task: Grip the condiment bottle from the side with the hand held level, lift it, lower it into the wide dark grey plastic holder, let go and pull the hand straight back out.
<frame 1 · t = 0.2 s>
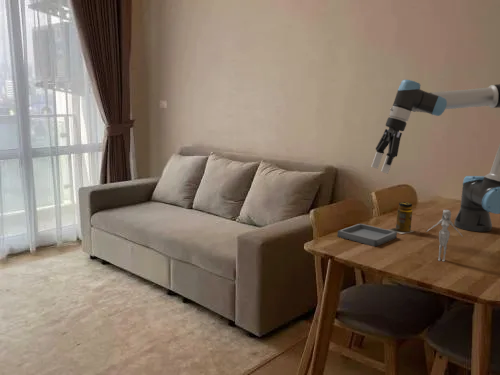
hand: (379, 170, 196), 27 cm above the table, tool tilted 15°, fingers open, 13 cm apart
human figurine: (441, 260, 172), on the table
condiment: (401, 231, 207), on the table
holder: (366, 237, 196), on the table
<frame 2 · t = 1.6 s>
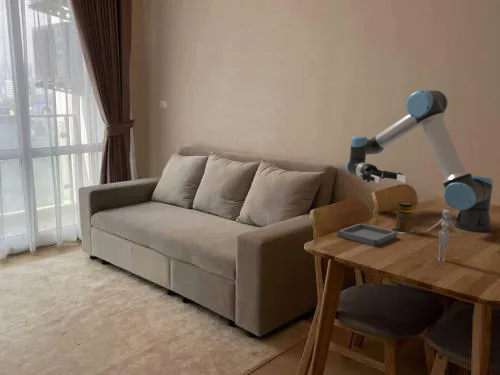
hand: (393, 180, 212), 20 cm above the table, tool horizontal, fingers open, 13 cm apart
nothing on the table moved.
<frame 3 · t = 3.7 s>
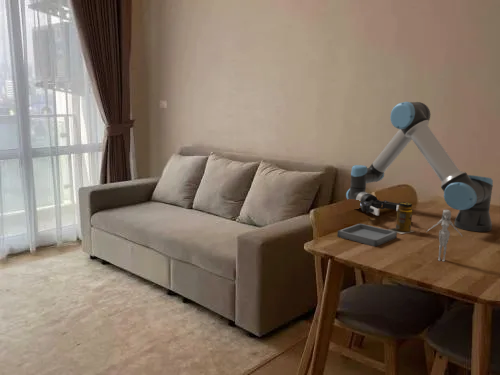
hand: (392, 211, 213), 6 cm above the table, tool horizontal, fingers open, 13 cm apart
nothing on the table moved.
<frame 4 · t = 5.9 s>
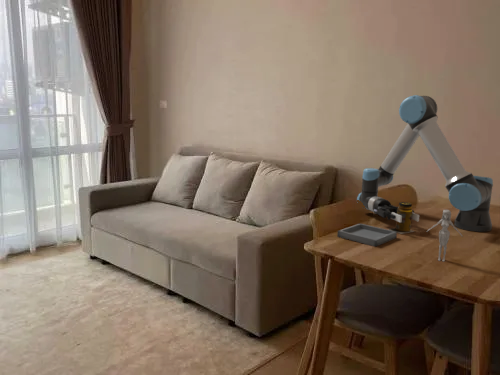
hand: (409, 218, 202), 7 cm above the table, tool horizontal, fingers open, 8 cm apart
condiment: (401, 231, 207), on the table, touching gripper
everything else where it was.
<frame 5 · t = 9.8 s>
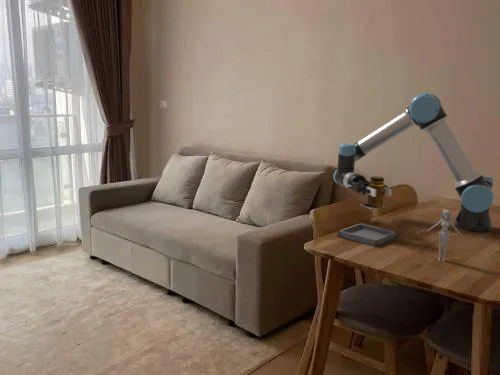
hand: (382, 193, 192), 18 cm above the table, tool horizontal, fingers closed on condiment, 6 cm apart
condiment: (372, 206, 198), point 12 cm above the table, touching gripper
everything else where it was.
when the fingers open (9 cm above the table, at t = 13.6 s): condiment drops 2 cm, resting on holder.
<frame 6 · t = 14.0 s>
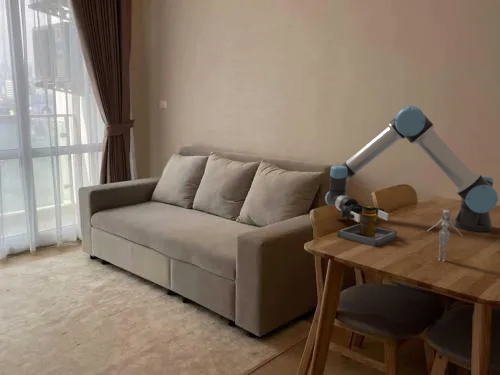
hand: (373, 218, 191), 9 cm above the table, tool horizontal, fingers open, 12 cm apart
condiment: (365, 236, 196), point 1 cm above the table, touching holder
everything else where it was.
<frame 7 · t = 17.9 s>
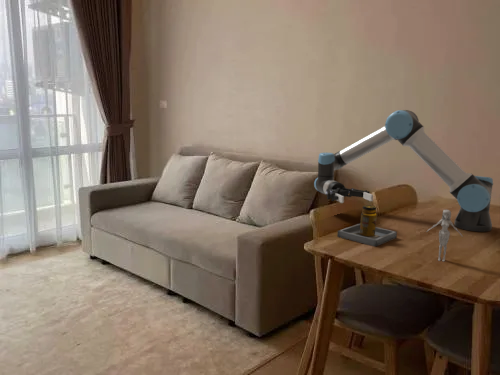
hand: (357, 198, 203), 14 cm above the table, tool horizontal, fingers open, 13 cm apart
nothing on the table moved.
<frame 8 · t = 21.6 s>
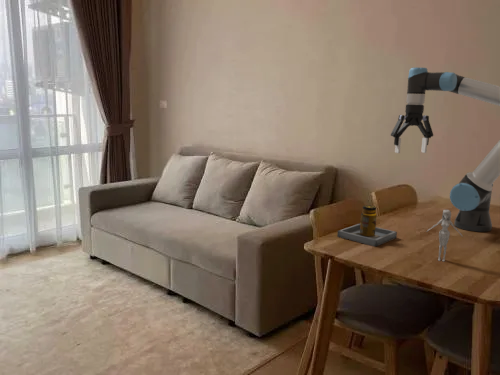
hand: (410, 152, 216), 32 cm above the table, tool pointing down, fingers open, 13 cm apart
nothing on the table moved.
at the end: condiment inside the target area on the holder (0.8 cm from its centre), point 0.6 cm above the holder's base; condiment tilted 0°; the gripper is holding nothing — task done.
